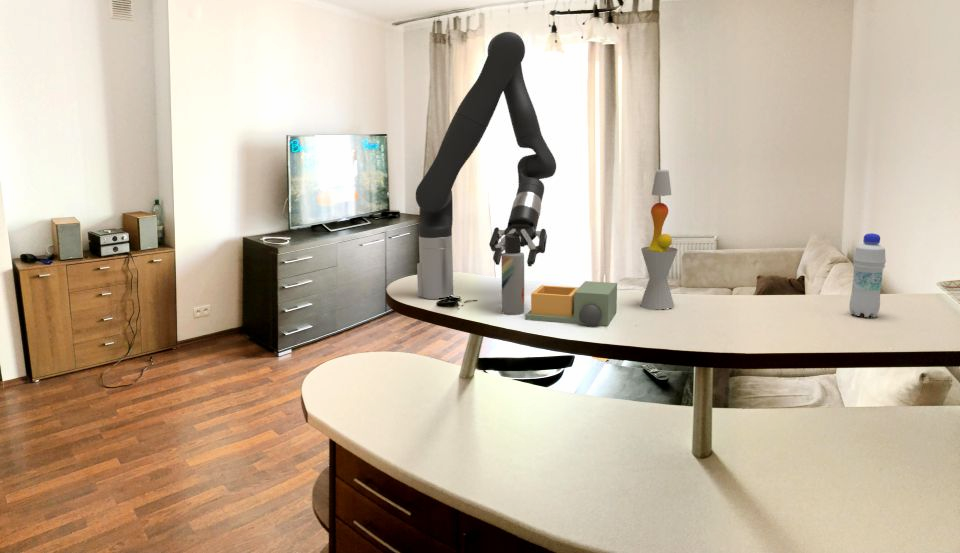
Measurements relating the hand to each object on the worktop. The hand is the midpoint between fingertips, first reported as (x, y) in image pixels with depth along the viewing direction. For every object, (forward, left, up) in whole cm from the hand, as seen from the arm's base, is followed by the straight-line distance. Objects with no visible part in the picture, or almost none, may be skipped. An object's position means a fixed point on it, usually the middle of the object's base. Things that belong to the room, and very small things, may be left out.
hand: (512, 263), depth 164 cm
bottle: (+82, +21, -13) cm, 86 cm away
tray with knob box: (+15, +1, -13) cm, 20 cm away
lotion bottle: (0, 0, -13) cm, 13 cm away
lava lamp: (+34, +17, -13) cm, 40 cm away
